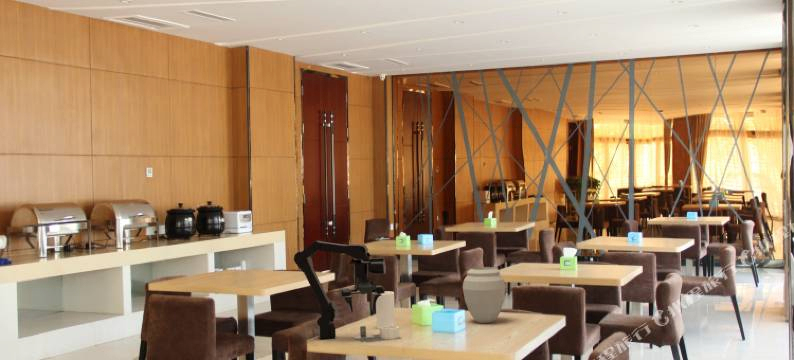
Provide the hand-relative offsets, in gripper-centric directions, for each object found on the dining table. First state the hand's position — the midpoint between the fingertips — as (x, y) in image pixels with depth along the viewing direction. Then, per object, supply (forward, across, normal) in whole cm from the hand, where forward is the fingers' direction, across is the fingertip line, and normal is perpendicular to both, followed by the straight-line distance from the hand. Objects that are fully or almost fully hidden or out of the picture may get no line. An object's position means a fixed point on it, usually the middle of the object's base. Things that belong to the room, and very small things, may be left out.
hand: (362, 311), depth 339 cm
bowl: (+11, +10, -7) cm, 16 cm away
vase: (+11, +61, +9) cm, 63 cm away
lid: (+11, 0, 0) cm, 11 cm away
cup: (+11, +16, +17) cm, 26 cm away
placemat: (+11, +5, -4) cm, 13 cm away
